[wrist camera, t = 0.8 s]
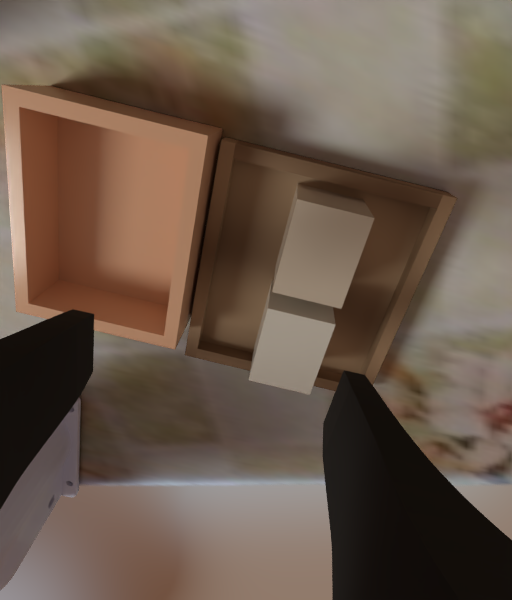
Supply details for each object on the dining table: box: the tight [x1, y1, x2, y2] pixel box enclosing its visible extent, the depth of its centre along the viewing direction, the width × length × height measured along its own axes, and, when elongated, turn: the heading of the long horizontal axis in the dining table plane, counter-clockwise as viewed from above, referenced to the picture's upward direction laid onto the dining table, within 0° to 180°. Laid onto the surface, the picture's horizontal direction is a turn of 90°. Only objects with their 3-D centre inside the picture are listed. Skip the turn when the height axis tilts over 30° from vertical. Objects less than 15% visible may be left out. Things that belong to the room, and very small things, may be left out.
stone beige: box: [272, 183, 375, 309], centre depth 18 cm, size 4×3×3 cm
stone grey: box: [249, 280, 336, 395], centre depth 20 cm, size 4×3×3 cm
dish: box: [2, 85, 223, 349], centre depth 18 cm, size 10×8×3 cm
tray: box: [185, 137, 457, 391], centre depth 20 cm, size 11×10×1 cm
